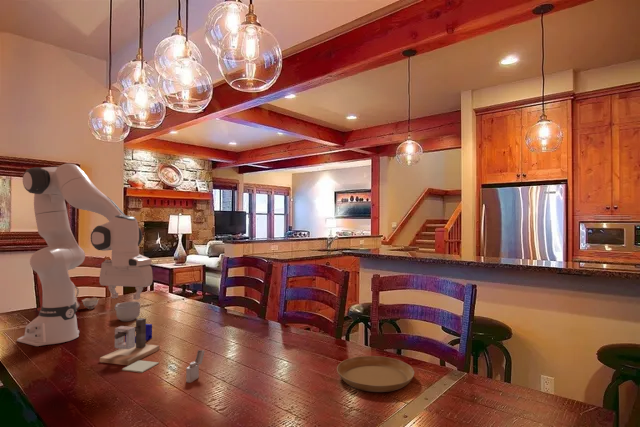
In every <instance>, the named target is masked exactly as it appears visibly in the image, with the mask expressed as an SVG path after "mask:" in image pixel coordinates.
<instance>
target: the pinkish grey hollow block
mask: <svg viewBox="0 0 640 427" xmlns="http://www.w3.org/2000/svg"><path fill="white" fill-rule="evenodd" d="M135 327H136V326H126V325H125V326H124V325H120V326H118V327H115V328H114V336H115V335H116V334H118V333H121V332H124V333H126V342H125V336H123V337H121V338H118V339H115V338H114V349H131V348H133V347H135V337H136V332H135Z"/></svg>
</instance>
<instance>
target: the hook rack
mask: <svg viewBox="0 0 640 427" xmlns="http://www.w3.org/2000/svg"><path fill="white" fill-rule="evenodd" d="M146 324H147V319H146V318H145V317H143V318H141V317H140V318H136V319H135V326H134V327H135V337H136V343H135V347H133V348H131V349H120V348H117V349H116V350H114V351H112V352H110V353H107V354H105V355H103V356H101V357H99V363H107V364H114V365H122V366H129V365H131V364H133V363H135V362H137V361H139V360H143V359H144V358H146V357H147V356H150V355H151V354H154V353H155V352H158V351H160V349H161V347H160V345H156V344H149V343H148V344H147V343H146V342H147V341H146ZM123 336H124V337H125V336H126V333H124V332H121V333H118V334H116V335H115V334H114V336H113V337H114V340H115V339H118V338H121V337H123Z"/></svg>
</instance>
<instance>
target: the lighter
mask: <svg viewBox="0 0 640 427" xmlns="http://www.w3.org/2000/svg"><path fill="white" fill-rule="evenodd" d="M204 356H205V350H203V349H198V350H197V353H196V355H195V359H194V361H192V362H190V363H189V365H188V366H187V367H186V368H185V369H186V371H185V372H186V374H185V375H186V376H185V378H186V379H185V382H186V383H193V382H194V381H196V380H197V379H199V377H200V374H199V373H200V371H199V368H200V365H202V363H203V360H204Z"/></svg>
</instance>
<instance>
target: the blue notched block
mask: <svg viewBox="0 0 640 427" xmlns="http://www.w3.org/2000/svg"><path fill="white" fill-rule="evenodd" d="M151 339H153V323H146V342H147V341H148V340H151ZM124 342H126V336H124ZM135 343H136V336H135Z"/></svg>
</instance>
